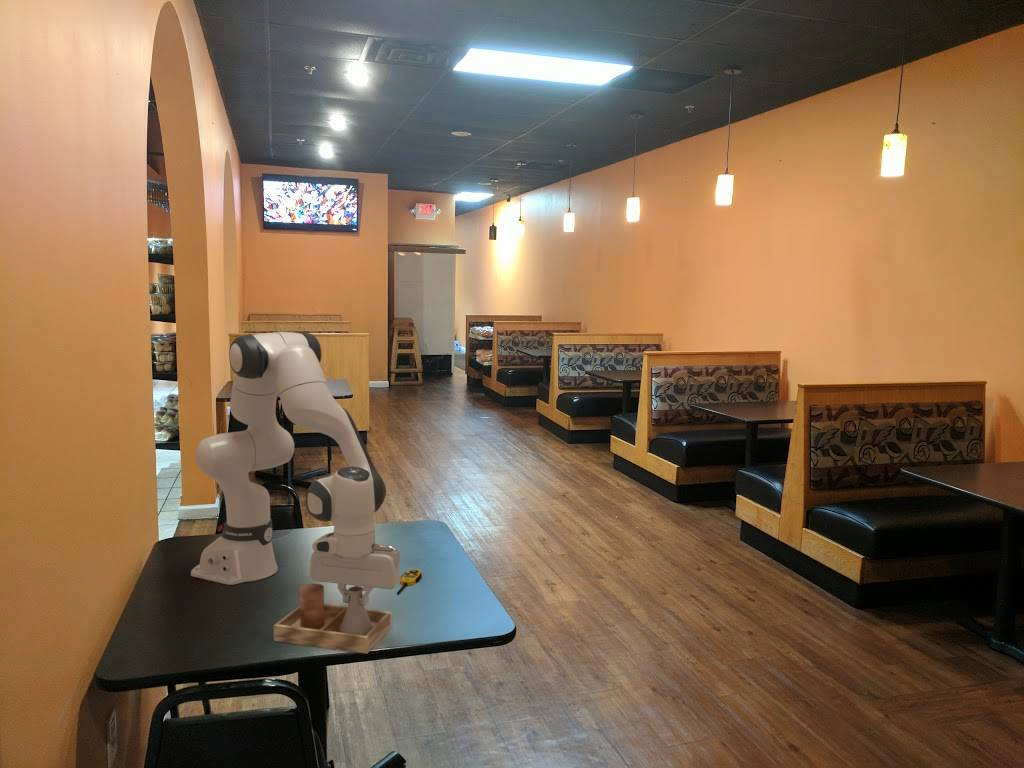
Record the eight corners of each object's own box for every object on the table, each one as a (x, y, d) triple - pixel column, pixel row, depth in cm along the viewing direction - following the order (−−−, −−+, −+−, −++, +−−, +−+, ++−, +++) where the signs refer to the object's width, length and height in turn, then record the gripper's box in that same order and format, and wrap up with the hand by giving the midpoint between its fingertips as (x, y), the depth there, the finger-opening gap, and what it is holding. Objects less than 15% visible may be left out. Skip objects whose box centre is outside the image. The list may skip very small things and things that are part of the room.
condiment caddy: (273, 640, 157) (272, 596, 156) (304, 615, 169) (303, 574, 168) (367, 653, 152) (366, 608, 150) (391, 626, 164) (391, 584, 163)
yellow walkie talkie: (425, 568, 196) (406, 589, 181) (425, 575, 196) (406, 597, 182) (408, 567, 197) (388, 588, 182) (408, 573, 197) (388, 595, 182)
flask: (356, 642, 154) (355, 598, 153) (332, 634, 158) (331, 590, 157) (379, 630, 160) (379, 586, 159) (356, 622, 164) (355, 579, 163)
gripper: (404, 541, 157) (405, 602, 159) (319, 533, 162) (321, 592, 164) (393, 551, 151) (394, 614, 153) (305, 542, 156) (306, 604, 158)
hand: (355, 603), depth 158 cm, fingers closed on flask, 2 cm apart
